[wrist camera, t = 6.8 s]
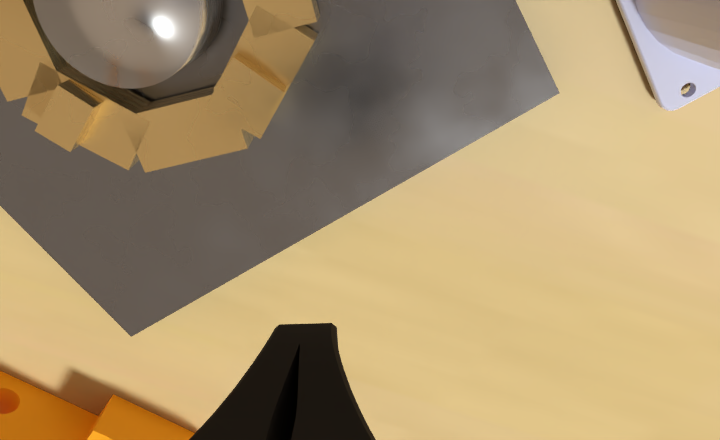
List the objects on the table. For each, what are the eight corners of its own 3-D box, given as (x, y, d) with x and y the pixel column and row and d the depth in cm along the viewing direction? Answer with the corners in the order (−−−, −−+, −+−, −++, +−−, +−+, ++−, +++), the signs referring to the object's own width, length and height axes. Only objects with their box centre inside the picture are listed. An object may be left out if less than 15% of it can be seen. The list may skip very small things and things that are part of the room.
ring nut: (345, 113, 20) (339, 173, 15) (75, 177, 21) (-19, 255, 16) (249, -258, 15) (192, -358, 10) (-89, -150, 17) (-295, -192, 11)
